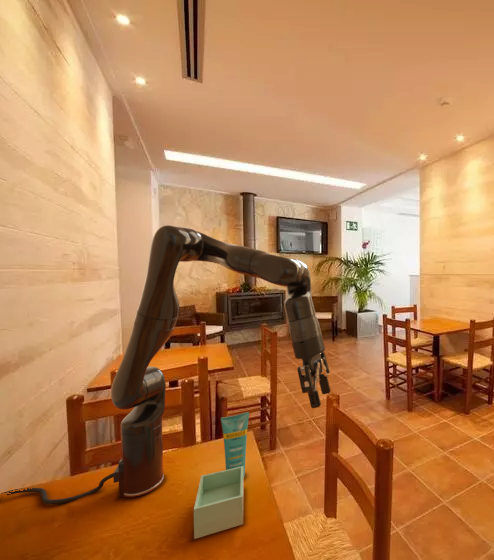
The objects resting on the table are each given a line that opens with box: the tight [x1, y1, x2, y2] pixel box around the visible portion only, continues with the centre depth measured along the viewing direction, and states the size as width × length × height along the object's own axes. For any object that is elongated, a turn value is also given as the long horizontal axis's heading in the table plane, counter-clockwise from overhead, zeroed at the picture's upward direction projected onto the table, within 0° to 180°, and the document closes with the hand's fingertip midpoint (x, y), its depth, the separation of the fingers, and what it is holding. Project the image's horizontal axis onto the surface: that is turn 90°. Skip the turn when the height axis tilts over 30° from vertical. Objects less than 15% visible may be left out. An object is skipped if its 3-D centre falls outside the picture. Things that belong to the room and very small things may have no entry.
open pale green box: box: [193, 466, 245, 540], centre depth 76 cm, size 10×12×7 cm
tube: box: [220, 411, 250, 479], centre depth 88 cm, size 7×5×19 cm, turn 123°
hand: (321, 399), depth 75 cm, fingers open, 8 cm apart
